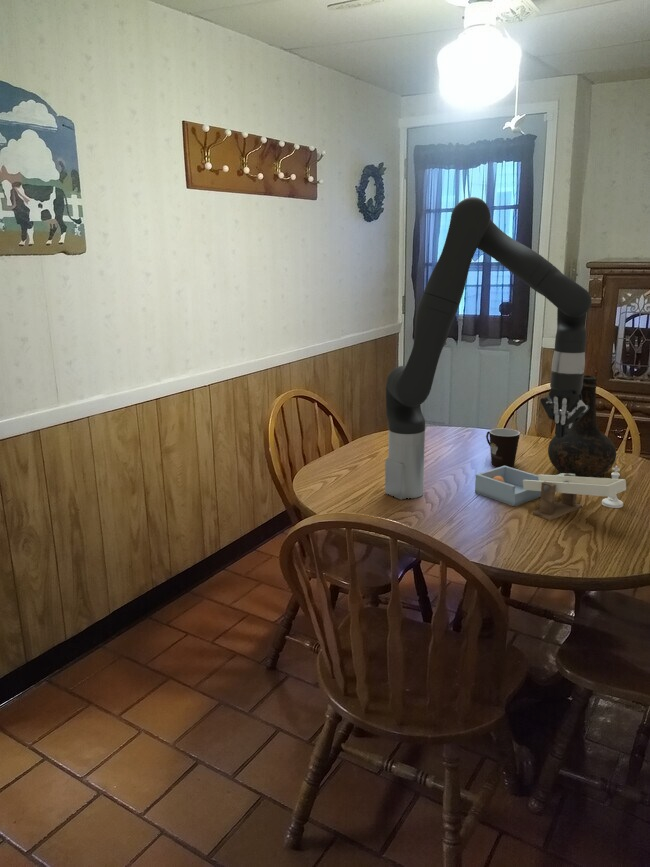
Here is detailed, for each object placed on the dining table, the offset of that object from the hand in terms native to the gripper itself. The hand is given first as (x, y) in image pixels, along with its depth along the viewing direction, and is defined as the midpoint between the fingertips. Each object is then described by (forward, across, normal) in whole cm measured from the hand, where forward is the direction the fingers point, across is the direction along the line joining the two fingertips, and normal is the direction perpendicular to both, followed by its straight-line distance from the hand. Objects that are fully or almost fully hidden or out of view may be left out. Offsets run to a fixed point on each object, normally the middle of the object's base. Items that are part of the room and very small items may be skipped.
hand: (561, 437), depth 167 cm
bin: (+16, -8, -9) cm, 20 cm away
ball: (+13, -12, -9) cm, 20 cm away
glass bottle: (+15, -6, +19) cm, 25 cm away
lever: (+9, +10, -4) cm, 14 cm away
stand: (+16, +6, -8) cm, 19 cm away
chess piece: (+16, +12, +6) cm, 21 cm away
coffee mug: (+16, -26, +10) cm, 32 cm away
